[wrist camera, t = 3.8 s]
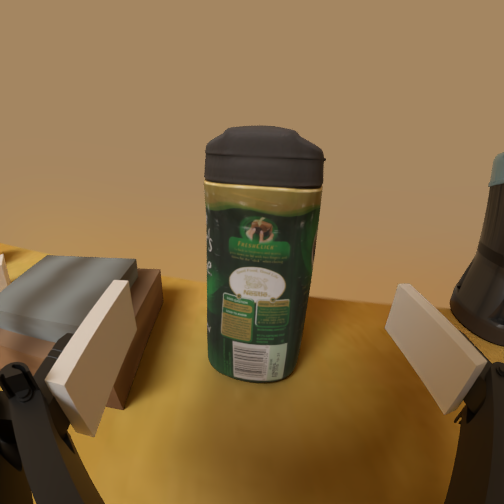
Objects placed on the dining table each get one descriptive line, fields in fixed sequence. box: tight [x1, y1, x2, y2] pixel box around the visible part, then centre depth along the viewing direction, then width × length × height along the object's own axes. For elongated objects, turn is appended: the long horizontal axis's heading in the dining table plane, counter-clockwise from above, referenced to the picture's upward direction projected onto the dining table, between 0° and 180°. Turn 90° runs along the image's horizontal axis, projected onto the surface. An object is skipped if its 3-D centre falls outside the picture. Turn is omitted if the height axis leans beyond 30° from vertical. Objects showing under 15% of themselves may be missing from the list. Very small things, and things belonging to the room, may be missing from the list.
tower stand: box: [0, 255, 163, 410], centre depth 22 cm, size 16×16×6 cm
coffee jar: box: [204, 126, 326, 383], centre depth 21 cm, size 10×8×19 cm
